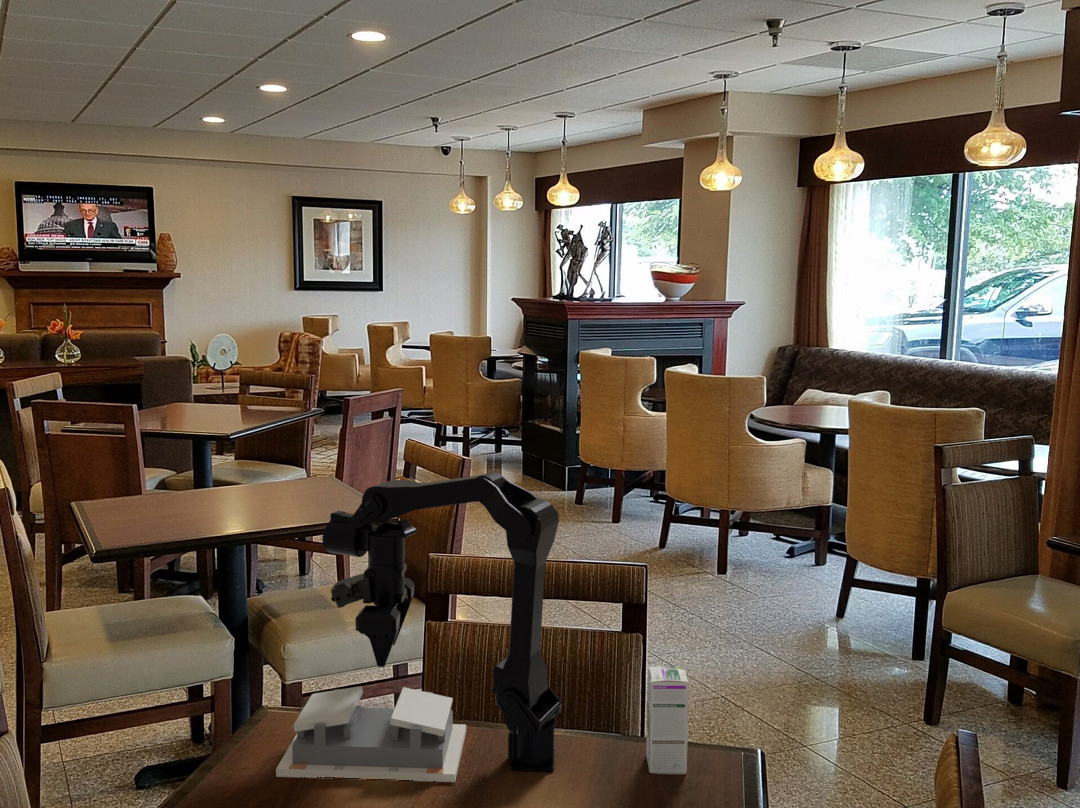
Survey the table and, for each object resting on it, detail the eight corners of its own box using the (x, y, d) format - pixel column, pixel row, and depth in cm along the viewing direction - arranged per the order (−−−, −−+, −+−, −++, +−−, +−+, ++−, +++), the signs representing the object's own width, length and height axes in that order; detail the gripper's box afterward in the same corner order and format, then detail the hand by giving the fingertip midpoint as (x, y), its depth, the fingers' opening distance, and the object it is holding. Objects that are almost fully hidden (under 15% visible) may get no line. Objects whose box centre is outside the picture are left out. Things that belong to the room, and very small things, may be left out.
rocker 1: (363, 695, 155) (361, 686, 155) (348, 727, 144) (346, 717, 144) (314, 703, 155) (312, 693, 155) (295, 735, 144) (293, 725, 144)
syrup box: (687, 775, 145) (691, 681, 144) (647, 774, 146) (650, 680, 144) (682, 756, 151) (686, 666, 149) (644, 755, 151) (647, 665, 149)
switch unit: (466, 731, 158) (466, 688, 157) (455, 782, 142) (455, 734, 141) (305, 726, 159) (304, 684, 158) (276, 776, 143) (275, 729, 142)
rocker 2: (450, 707, 155) (453, 698, 155) (442, 740, 144) (444, 730, 144) (401, 696, 155) (403, 687, 155) (388, 728, 144) (391, 718, 144)
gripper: (348, 543, 165) (349, 633, 167) (321, 577, 147) (322, 677, 149) (414, 545, 165) (414, 635, 167) (395, 579, 146) (395, 679, 148)
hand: (386, 655), depth 158 cm, fingers open, 9 cm apart
